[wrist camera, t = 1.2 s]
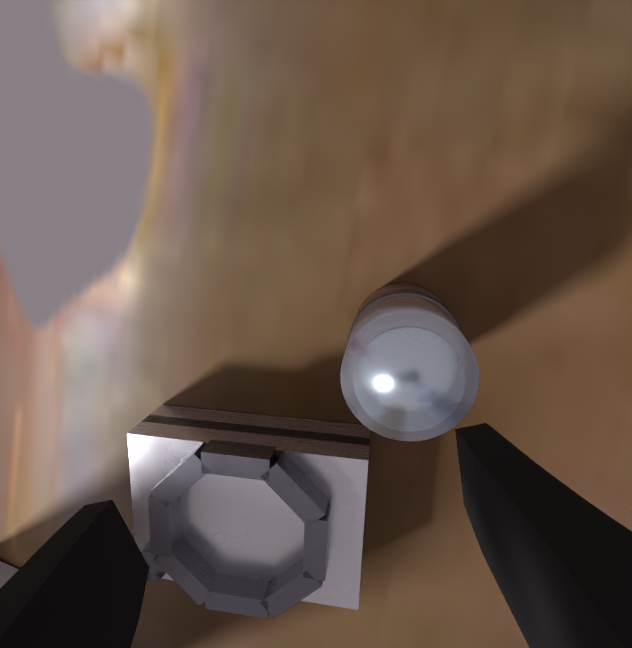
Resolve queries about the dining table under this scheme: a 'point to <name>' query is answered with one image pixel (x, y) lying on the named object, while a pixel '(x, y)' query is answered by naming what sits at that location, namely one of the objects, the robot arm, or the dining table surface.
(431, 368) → the lens
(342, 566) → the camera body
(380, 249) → the dining table surface
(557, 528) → the robot arm
